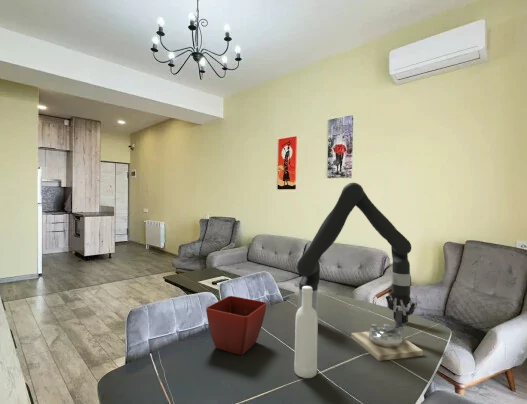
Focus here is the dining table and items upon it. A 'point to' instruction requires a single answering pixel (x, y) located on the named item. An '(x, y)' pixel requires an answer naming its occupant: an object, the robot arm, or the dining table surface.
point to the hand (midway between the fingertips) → (400, 321)
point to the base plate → (383, 352)
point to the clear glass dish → (388, 333)
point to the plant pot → (235, 323)
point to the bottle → (306, 336)
